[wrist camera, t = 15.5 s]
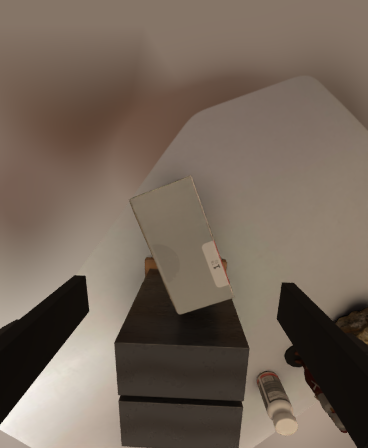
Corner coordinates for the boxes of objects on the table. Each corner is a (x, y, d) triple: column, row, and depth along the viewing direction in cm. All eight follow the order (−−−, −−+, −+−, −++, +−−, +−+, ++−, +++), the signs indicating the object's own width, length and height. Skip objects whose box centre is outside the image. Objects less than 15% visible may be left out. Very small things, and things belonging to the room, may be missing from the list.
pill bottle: (271, 391, 50) (291, 441, 40) (252, 383, 50) (267, 432, 40) (282, 375, 49) (305, 422, 39) (262, 367, 49) (281, 413, 39)
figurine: (284, 345, 47) (326, 419, 32) (314, 342, 46) (371, 416, 32) (284, 367, 48) (326, 447, 34) (314, 364, 48) (369, 445, 33)
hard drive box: (214, 246, 42) (236, 300, 23) (182, 257, 43) (176, 319, 23) (190, 178, 39) (191, 174, 20) (156, 192, 40) (124, 200, 20)
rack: (146, 257, 43) (104, 327, 22) (225, 259, 43) (260, 333, 22) (148, 335, 48) (115, 456, 27) (220, 338, 47) (244, 463, 26)
